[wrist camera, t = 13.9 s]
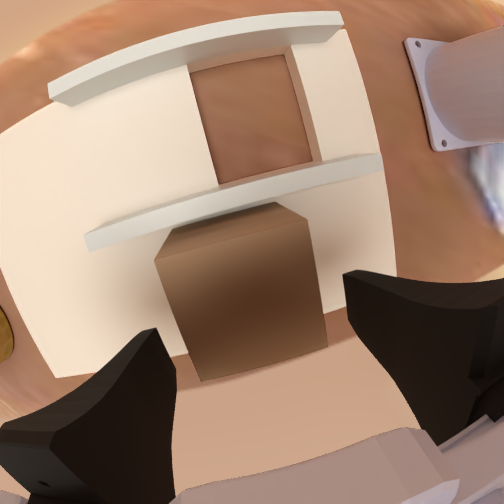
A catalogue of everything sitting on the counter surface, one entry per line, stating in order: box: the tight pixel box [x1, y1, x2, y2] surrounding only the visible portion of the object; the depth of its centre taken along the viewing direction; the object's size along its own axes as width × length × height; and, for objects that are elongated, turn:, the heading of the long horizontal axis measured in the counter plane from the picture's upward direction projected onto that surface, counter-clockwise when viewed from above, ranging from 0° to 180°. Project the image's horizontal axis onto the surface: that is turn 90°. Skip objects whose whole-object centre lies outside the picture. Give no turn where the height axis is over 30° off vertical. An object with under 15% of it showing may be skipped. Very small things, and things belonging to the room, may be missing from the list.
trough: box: [48, 11, 384, 252], centre depth 12 cm, size 14×8×2 cm, turn 104°
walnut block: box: [154, 202, 328, 382], centre depth 13 cm, size 5×5×5 cm
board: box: [0, 29, 397, 378], centre depth 15 cm, size 23×16×2 cm
